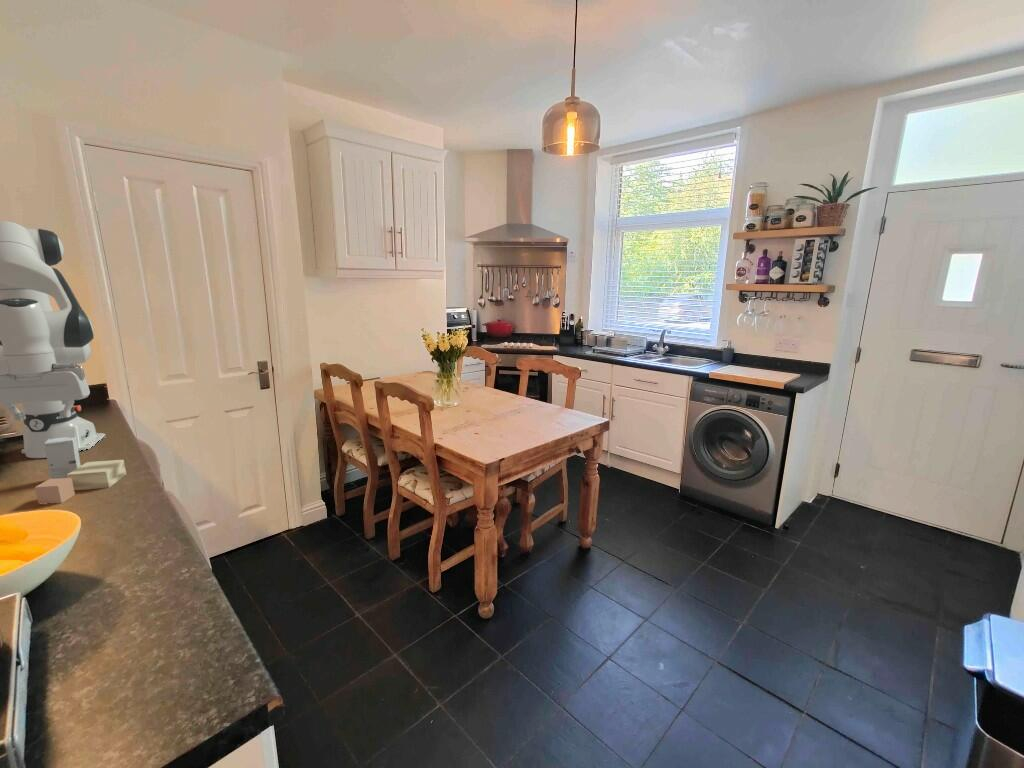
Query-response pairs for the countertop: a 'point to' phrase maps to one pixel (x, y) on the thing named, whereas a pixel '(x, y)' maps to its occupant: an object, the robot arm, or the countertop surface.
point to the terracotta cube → (55, 490)
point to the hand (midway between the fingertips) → (43, 418)
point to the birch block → (97, 474)
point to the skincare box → (62, 456)
